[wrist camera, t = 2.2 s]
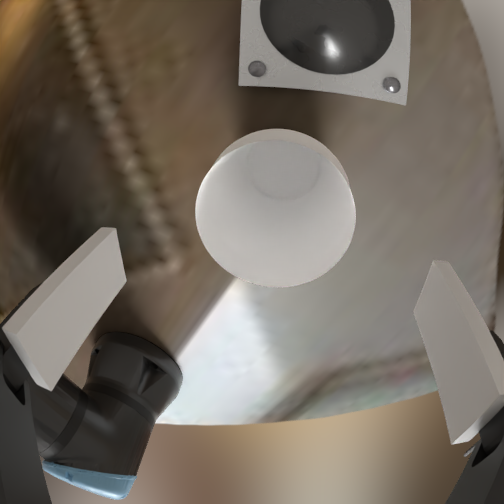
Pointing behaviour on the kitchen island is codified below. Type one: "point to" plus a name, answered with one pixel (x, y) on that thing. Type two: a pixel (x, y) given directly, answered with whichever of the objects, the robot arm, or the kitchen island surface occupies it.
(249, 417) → the kitchen island surface
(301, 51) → the flange
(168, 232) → the kitchen island surface
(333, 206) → the cup
